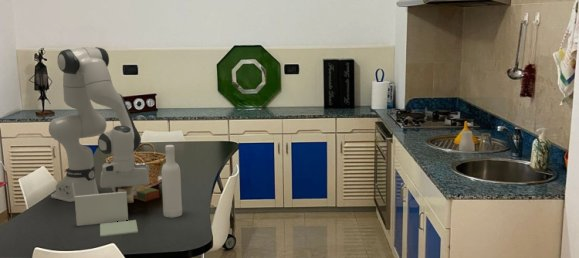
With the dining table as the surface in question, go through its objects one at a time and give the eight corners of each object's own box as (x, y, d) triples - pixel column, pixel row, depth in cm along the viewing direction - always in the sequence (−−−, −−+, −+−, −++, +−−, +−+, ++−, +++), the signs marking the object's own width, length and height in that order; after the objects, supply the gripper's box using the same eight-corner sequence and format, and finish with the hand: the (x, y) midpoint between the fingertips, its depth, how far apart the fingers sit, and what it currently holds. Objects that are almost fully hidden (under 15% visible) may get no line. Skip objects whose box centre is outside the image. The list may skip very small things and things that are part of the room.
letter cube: (118, 203, 245) (118, 189, 244) (118, 199, 251) (117, 185, 250) (133, 202, 247) (132, 188, 246) (132, 198, 253) (132, 184, 252)
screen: (76, 225, 235) (74, 197, 233) (77, 224, 237) (74, 196, 234) (128, 220, 241) (126, 192, 239) (128, 219, 243) (126, 191, 240)
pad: (100, 236, 223) (100, 235, 222) (100, 225, 236) (100, 223, 236) (137, 232, 227) (137, 231, 227) (135, 221, 240) (135, 219, 240)
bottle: (173, 210, 253) (170, 142, 248) (186, 213, 249) (183, 145, 243) (159, 215, 247) (155, 146, 241) (172, 219, 242) (169, 148, 237)
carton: (138, 192, 283) (138, 183, 282) (160, 198, 273) (159, 189, 273) (124, 196, 277) (123, 187, 276) (145, 202, 267) (145, 193, 266)
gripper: (148, 161, 252) (149, 191, 255) (98, 164, 246) (100, 195, 248) (149, 164, 246) (151, 195, 249) (99, 168, 240) (100, 200, 243)
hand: (125, 195), depth 249 cm, fingers closed on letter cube, 6 cm apart
